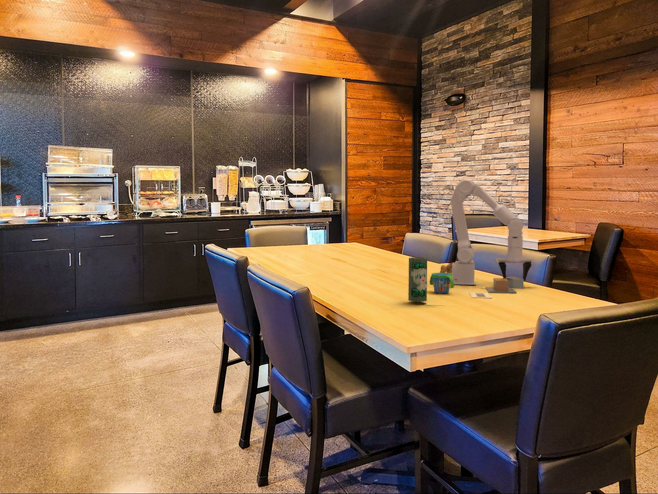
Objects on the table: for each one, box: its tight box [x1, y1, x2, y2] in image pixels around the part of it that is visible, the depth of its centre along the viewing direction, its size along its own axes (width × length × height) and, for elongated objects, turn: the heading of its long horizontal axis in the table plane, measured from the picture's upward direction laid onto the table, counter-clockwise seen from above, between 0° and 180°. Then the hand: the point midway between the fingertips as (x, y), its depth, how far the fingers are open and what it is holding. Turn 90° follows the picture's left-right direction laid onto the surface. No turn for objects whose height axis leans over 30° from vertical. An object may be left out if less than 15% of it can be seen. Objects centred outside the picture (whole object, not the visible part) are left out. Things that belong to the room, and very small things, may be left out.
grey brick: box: [506, 276, 525, 290], centre depth 203 cm, size 4×7×4 cm, turn 7°
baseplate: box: [485, 286, 517, 295], centre depth 194 cm, size 10×10×1 cm
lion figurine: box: [439, 262, 453, 274], centre depth 235 cm, size 12×4×7 cm, turn 32°
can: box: [407, 256, 428, 303], centre depth 175 cm, size 6×6×15 cm
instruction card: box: [469, 292, 493, 299], centre depth 184 cm, size 7×10×1 cm
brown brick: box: [492, 277, 509, 291], centre depth 194 cm, size 4×7×4 cm, turn 170°
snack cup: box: [429, 272, 455, 295], centre depth 190 cm, size 11×8×7 cm
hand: (514, 280), depth 203 cm, fingers open, 7 cm apart
